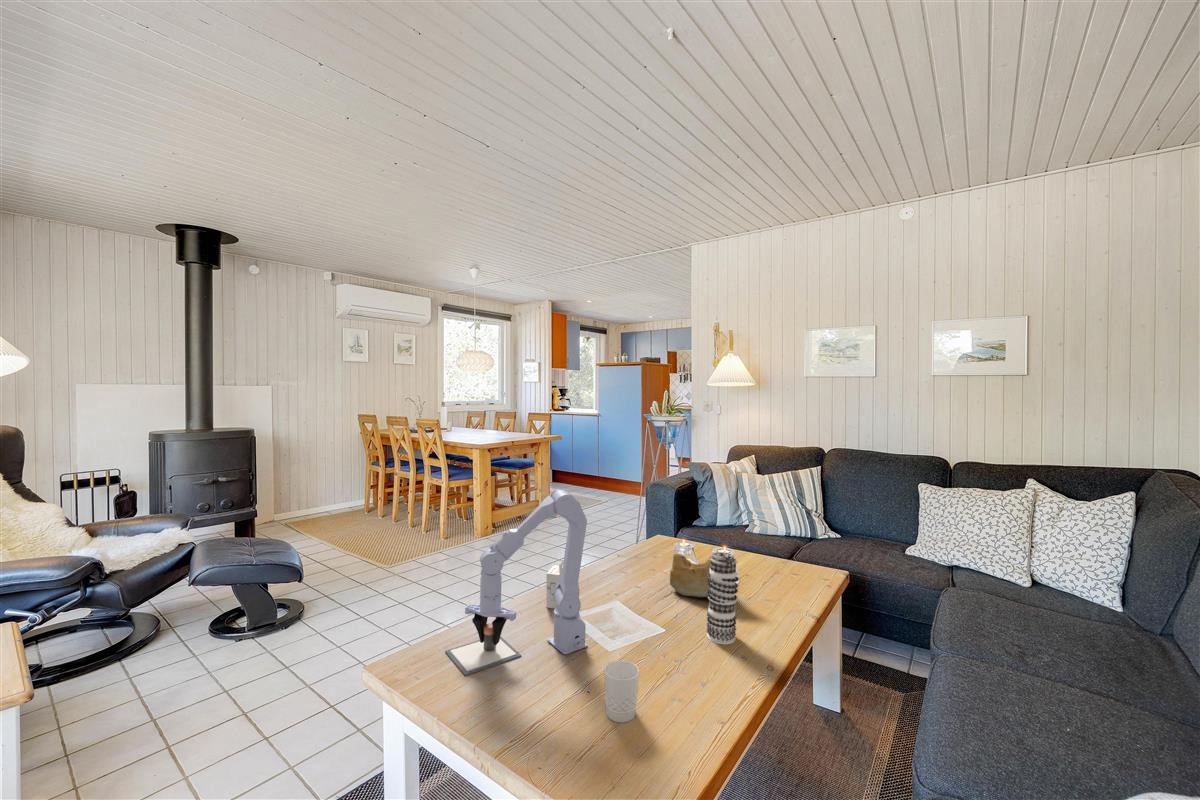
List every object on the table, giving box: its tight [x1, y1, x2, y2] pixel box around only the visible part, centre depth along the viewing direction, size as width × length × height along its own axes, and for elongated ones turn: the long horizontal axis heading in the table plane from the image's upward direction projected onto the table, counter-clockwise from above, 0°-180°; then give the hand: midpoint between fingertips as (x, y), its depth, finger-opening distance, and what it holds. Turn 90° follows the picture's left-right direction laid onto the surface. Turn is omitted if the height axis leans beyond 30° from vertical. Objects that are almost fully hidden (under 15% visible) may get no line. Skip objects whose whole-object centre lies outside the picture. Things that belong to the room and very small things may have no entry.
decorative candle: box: [706, 551, 740, 645], centre depth 148 cm, size 9×9×25 cm
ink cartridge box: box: [545, 559, 564, 609], centre depth 169 cm, size 9×5×15 cm, turn 168°
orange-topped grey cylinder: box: [483, 622, 496, 651], centre depth 137 cm, size 4×4×6 cm
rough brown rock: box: [669, 553, 711, 598], centre depth 180 cm, size 23×17×15 cm
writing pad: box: [444, 635, 522, 677], centre depth 135 cm, size 14×16×1 cm
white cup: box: [603, 659, 640, 723], centre depth 112 cm, size 8×8×10 cm
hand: (489, 642), depth 137 cm, fingers closed on orange-topped grey cylinder, 3 cm apart
